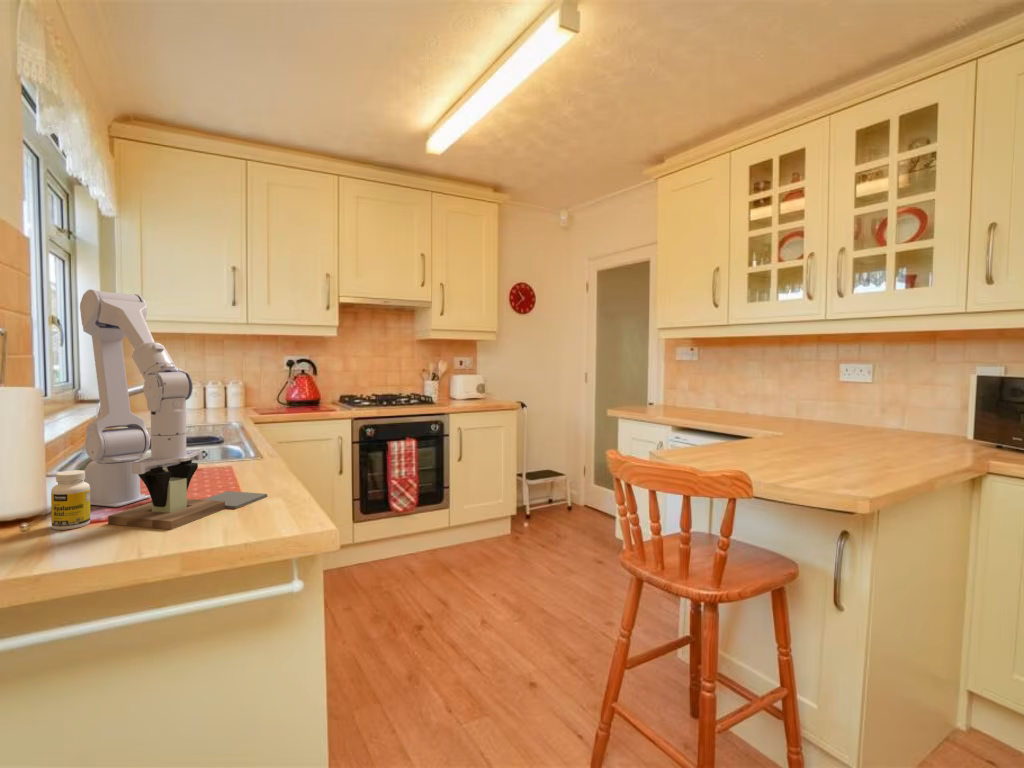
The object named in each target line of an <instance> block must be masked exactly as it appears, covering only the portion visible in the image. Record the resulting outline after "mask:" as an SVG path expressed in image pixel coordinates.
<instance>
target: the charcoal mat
mask: <svg viewBox="0 0 1024 768" xmlns="http://www.w3.org/2000/svg"><path fill="white" fill-rule="evenodd" d="M267 497H268V494H267V493H259V492H247V491H246V492H245V491H231V490H227V491H224V492H220V493H218V494H215V495H212V496H209V497H207V498H203V499H202V500H213V501H225V509H233V510H237V509H240V508H242V507H245V506H247V505H250V504H252V503H255V502H257V501H260V500H261V499H265V498H267Z"/></svg>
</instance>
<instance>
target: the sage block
mask: <svg viewBox="0 0 1024 768" xmlns="http://www.w3.org/2000/svg"><path fill="white" fill-rule="evenodd" d="M187 493H188V490H187V478H175V477H170V480H169V484H168V489H167V502H166V506H165V507H154V505H153V502H152V501H151V502H152V512H161V513H173V512H175V511H178V510H181V509H184V508H187V499H188V496H187V495H188V494H187Z"/></svg>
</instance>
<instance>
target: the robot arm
mask: <svg viewBox="0 0 1024 768" xmlns="http://www.w3.org/2000/svg"><path fill="white" fill-rule="evenodd" d="M79 311H80V318H81V325H82V331H83V332H84V333H86V334H88V335H90V336H91V340H92V349H93V355H94V356H93V357H94V364H95V365H94V367H95V373H96V381H97V388H98V389H97V390H98V397H99V404H100V413H101V414H100V415H98V416H97V417H96V418H95V419H93V420H92V421H90V423H89V424H88V425H87V426H86V428H85V430H86V431H85V434H86V436H85V441H84V448H85V452H86V455H87V457H88V458H89V459H91V460H92V461H90V462H89V463H88V464H87V465H86V467H85V468H84V471H85V479H84V480H83V481H84V482H86V483H88V484H89V485H90V506H101V507H115V508H117V507H119V508H120V507H122V506H126V505H129V504H134V503H137V502H139V501H142V500H146V499H149V498H150V499H151V502H153V505H154V507H165V506H166V502H167V489H168V484H169V480H170V477H175V478H187V491H188V489H189V486H190V483H191V481H192V478H193V476H194V474H195V473H196V471H197V470H198V466H199V464H198V463H197V462H194V461H201V460H203V450H202V449H200V450H199V449H191V450H187V401H188V400H189V399H190V398H191V396H192V394H193V390H194V387H193V386H194V385H193V380H192V378H191V375H190V373H189V372H188V371H186V370H183V369H182V368H181V367H177V366H176V364H175V362H174V360H173V359H172V356H170V353H169V352H168V351H167V348H166V347H165V345H163V344H162V343H160V342H156V341H155V340H154V337H153V335H152V333H151V330H150V328H149V326H148V322H147V321H146V318H147V314H148V306H147V302H146V301H145V299H144V297H143V296H142V295H140V294H131V293H130V294H129V293H128V294H127V293H120V292H111V291H102V290H101V291H100V290H96V289H87V290H86V291H85V292H84V293H83V294H82V296H81V300H80V303H79ZM125 337H126V339H127V340H128V342H129V343H130V344H131V346H132V347H133V349H134V350H133V351H132V356H131V357H132V359H133V361H134V363H135V365H136V367H137V368H138V371H139V373H140V374H141V375H142V377H143V379H144V383H143V386H142V387H143V389H142V390H143V394H144V397H145V399H146V407H147V410H148V411H150V434H149V432H148V430H147V427H146V423H145V420H144V418H142V417H140V416H138V415H137V414H134V413H133V412H132V411H131V403H130V396H129V389H128V388H129V387H128V381H127V380H128V379H127V373H126V364H125V357H124V356H125V355H124V348H123V347H124V346H123V339H124V338H125ZM121 427H122V428H121ZM123 427H124V428H123ZM149 448H150V455H151V456H149V457H147V458H144V455H145V454H146V453H147V452H148V450H149ZM143 458H144V459H143ZM165 467H167V469H168V471H165V470H163V468H165ZM141 480H142V483H144V485H145V487H146V488H147V491H148V493H149V494H141Z"/></svg>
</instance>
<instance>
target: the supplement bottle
mask: <svg viewBox="0 0 1024 768" xmlns="http://www.w3.org/2000/svg"><path fill="white" fill-rule="evenodd" d="M84 479H85V470H78V469H77V470H76V469H74V470H67V471H66V470H65V471H60V472H57V473H56V474H55V481H56V483H57V484H55V485H54V486H53V487H52V488H51V490H50V491H51V492H50V495H51V496H50V499H51V500H50V503H51V507H50V508H51V519H50V520H51V528H52V529H53V530H56V531H57V530H58V531H65V530H73V529H79V528H83V527H85V526H88V525H89V524H90V523H91V505H90V485H89V484H88V483H86V482H84Z"/></svg>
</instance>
